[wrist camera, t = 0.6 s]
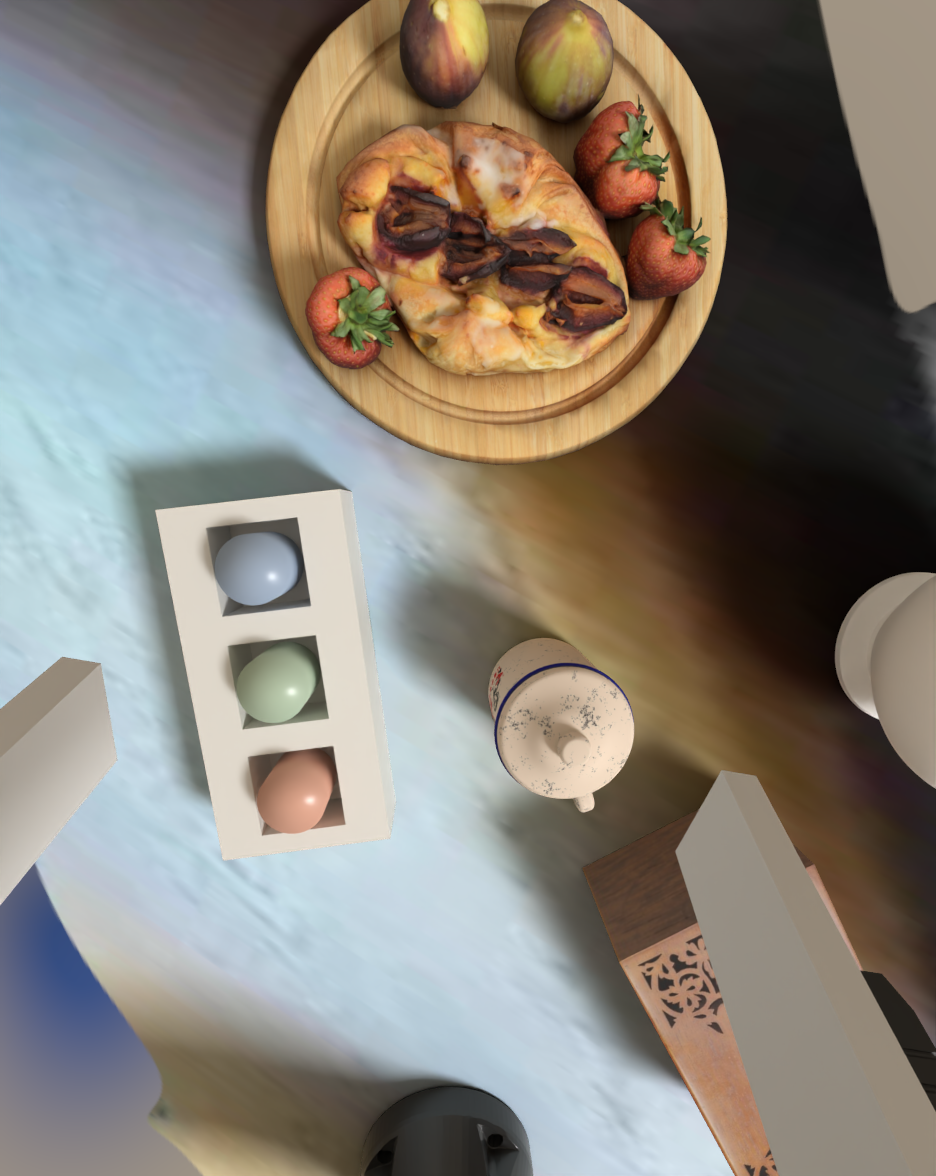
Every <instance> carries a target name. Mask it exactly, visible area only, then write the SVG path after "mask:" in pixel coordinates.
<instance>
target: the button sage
mask: <svg viewBox="0 0 936 1176" xmlns="http://www.w3.org/2000/svg"><path fill="white" fill-rule="evenodd" d="M320 677H321V670H320V664H319V662H318V660H317V658H316V656H315V655H314V653H313V652H312V651H311V650H310V649H308V648H307V647H305V646H304V645H302V644H299V643H296V642H280V643H277V644H274V645H272V646H271V647H269V648H268V649H266V650H265V651H264V652H263V653H261V654H260V655H259V656H257V657H256V658H255V659H254V660H252V661H251V662H250V663H249V664H247V665H246V666H245V667H244V669H243V670H242V671H241V673H240V675H239V677H238V681H237V696H238V699H239V702H240V704H241V706H242V707H243V709H244V710H245V711H246V712H247V713H248V714H249V715H250V716H252V717H253V718H255V719H257V720H259V721H262V722H267V723H280V722H284V721H287V720H289V719H291V718H292V717H294V716H295V715H296V714H298V713H299V711H300V710H301V709H302V708H303V706H304V705H305V703H306V702H307V701H308V699H309V698H310V696H311V695H312V694H313V692H314V691H315V689H316V688H317V686H318V684H319V681H320Z"/></svg>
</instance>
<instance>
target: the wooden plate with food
mask: <svg viewBox="0 0 936 1176" xmlns="http://www.w3.org/2000/svg"><path fill="white" fill-rule="evenodd" d="M265 217H266V229H267V240H268V245H269V251H270V259H271V264H272V268H273V272H274V276H275V281H276V284H277V287H278V291H279V294H280V297H281V300H282V303H283V305H284V308H285V310H286V313H287V315H288V318H289V320H290V322H291V324H292V326H293V328H294V330H295V332H296V333H297V335H298V337H299V339H300V341H301V343H302V344H303V346H304V348H305V349H306V351H307V353H308V354H309V356H310V358H311V359H312V361H313V362H314V363H315V365H316V366H317V367H318V368H319V370H320V371H321V372H322V373H323V375H324V376H325V377H326V379H327V380H328V381H329V382H330V384H331V385H332V386H333V387H334V388H335V389H336V390H337V391H338V392H339V393H340V394H341V395H342V396H343V397H344V398H345V399H346V401H347V402H348V403H349V404H350V405H352V406H353V407H354V408H355V409H356V410H358V411H359V412H360V413H361V414H363V415H364V416H365V417H367V418H368V419H369V420H371V421H372V422H374V423H375V424H376V425H378V426H379V427H381V428H383V429H384V430H386V431H387V432H389V433H391V434H392V435H394V436H395V437H397V438H399V439H401V440H403V441H405V442H407V443H409V444H410V445H413V446H415V447H418V448H420V449H423V450H425V451H428V452H431V453H434V454H437V455H440V456H443V457H447V458H452V459H456V460H461V461H467V462H475V463H484V464H493V465H507V464H523V463H530V462H537V461H544V460H548V459H552V458H556V457H559V456H562V455H565V454H568V453H571V452H574V451H577V450H580V449H582V448H584V447H586V446H588V445H590V444H593V443H595V442H596V441H598V440H600V439H602V438H604V437H605V436H607V435H609V434H611V433H612V432H614V431H615V430H617V429H619V428H620V427H622V426H624V425H625V424H627V423H628V422H630V421H631V420H632V419H633V418H635V417H636V416H637V415H638V414H639V413H641V412H642V411H643V410H644V409H645V408H646V407H647V406H648V405H649V404H650V403H652V402H653V401H654V400H655V399H656V397H657V396H658V395H659V394H660V393H661V392H662V391H663V389H664V388H665V387H666V386H667V385H668V383H669V382H670V381H671V380H672V379H673V377H674V376H675V375H676V374H677V372H678V371H679V369H680V368H681V366H682V365H683V363H684V362H685V360H686V359H687V357H688V356H689V354H690V353H691V351H692V349H693V347H694V346H695V344H696V342H697V341H698V339H699V337H700V335H701V332H702V330H703V328H704V326H705V324H706V321H707V319H708V316H709V313H710V311H711V308H712V305H713V302H714V298H715V295H716V291H717V288H718V285H719V281H720V275H721V270H722V265H723V260H724V253H725V246H726V237H727V201H726V192H725V183H724V176H723V170H722V165H721V160H720V156H719V151H718V147H717V142H716V139H715V135H714V132H713V129H712V126H711V123H710V120H709V118H708V115H707V113H706V111H705V109H704V106H703V104H702V102H701V99H700V97H699V95H698V94H697V92H696V90H695V88H694V86H693V84H692V82H691V80H690V78H689V77H688V75H687V73H686V72H685V70H684V68H683V67H682V65H681V64H680V63H679V61H678V60H677V58H676V57H675V56H674V54H673V53H672V52H671V51H670V49H669V48H668V47H667V46H666V44H665V43H664V42H663V41H662V40H661V38H660V37H659V36H658V35H657V34H656V33H655V32H654V31H653V30H652V29H651V28H650V27H649V26H648V25H647V24H646V23H645V22H644V21H643V20H641V19H640V18H639V17H638V16H637V15H636V14H634V13H633V12H632V11H631V10H630V9H629V8H627V7H626V6H625V5H623V4H622V3H620V2H619V1H617V0H370V1H369V2H367V3H366V4H365V5H363V6H362V7H361V8H359V9H358V10H357V11H356V12H354V13H353V14H352V15H350V16H349V17H348V18H347V19H346V20H345V21H343V22H342V23H341V24H340V25H339V26H338V27H337V28H336V29H335V30H334V31H333V32H332V33H331V34H330V35H329V36H328V37H327V39H326V40H325V41H324V43H323V44H322V45H321V46H320V48H319V49H318V50H317V51H316V53H315V54H314V55H313V57H312V59H311V60H310V62H309V63H308V65H307V67H306V68H305V70H304V72H303V73H302V75H301V76H300V78H299V80H298V81H297V83H296V85H295V87H294V90H293V92H292V94H291V96H290V98H289V101H288V103H287V105H286V107H285V109H284V112H283V114H282V116H281V119H280V122H279V125H278V128H277V131H276V134H275V138H274V143H273V147H272V151H271V157H270V163H269V168H268V177H267V187H266V216H265Z"/></svg>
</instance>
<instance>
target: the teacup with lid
mask: <svg viewBox="0 0 936 1176" xmlns="http://www.w3.org/2000/svg"><path fill="white" fill-rule="evenodd" d="M488 698H489V704H490V708H491V712H492V717H493V721H494V725H495V730H494V736H495V744H496V749H497V752H498V755H499V758H500V760H501V762H502V764H503V766H504V767H505V769H506V770H507V772H508V773H509V774H510V775H511V776H512V777H513V778H514V779H515V780H516V781H517V782H518V783H519V784H521V785H522V786H524V787H525V788H527V789H528V790H530V791H532V792H534V793H536V794H539V795H542V796H545V797H550V798H558V799H569V798H573V800H574V802H575V805H576V807H577V809H578V810H579V811H580V812H587V811H590V810H592V809H593V808H594V798H593V794H592V792H594V791H596V790H598V789H600V788H602V787H603V786H605V785H606V784H607V783H609V782H610V781H611V780H612V779H613V778H614V777H615V776H616V775H617V774H618V773H619V771H620V770H621V769H622V767H623V766H624V764H625V762H626V760H627V758H628V756H629V754H630V751H631V748H632V744H633V739H634V719H633V714H632V710H631V707H630V704H629V702H628V699H627V697H626V696H625V694H624V692H623V691H622V690H621V688H620V687H619V686H618V685H617V684H616V683H615V682H614V681H613V680H612V679H611V678H610V677H609V676H607V675H606V674H604V673H603V672H601V671H599V670H597V669H596V668H595V667H594V665H593V664H592V663H591V662H590V661H589V660H588V659H587V658H586V657H585V656H584V655H583V654H582V653H581V652H580V651H578V650H577V649H576V648H575V647H573V646H571V645H570V644H568V643H565V642H563V641H560V640H557V639H551V638H536V639H531V640H527V641H524V642H522V643H520V644H518V645H516V646H514V647H513V648H511V649H510V650H509V651H507V652H506V653H505V654H504V655H503V656H502V657H501V658H500V660H499V661H498V662H497V664H496V666H495V667H494V669H493V672H492V674H491V677H490V681H489V687H488Z"/></svg>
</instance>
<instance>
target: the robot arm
mask: <svg viewBox="0 0 936 1176" xmlns="http://www.w3.org/2000/svg"><path fill="white" fill-rule="evenodd" d="M116 761H117V755H116V749H115V744H114V738H113V732H112V726H111V721H110V715H109V709H108V703H107V697H106V692H105V686H104V680H103V674H102V669H101V663H95V662H89V661H83V660H77V659H71V658H66V657H62V658H60V659H59V660H58V661H57V662H56V663H54V664H53V665H52V666H51V667H50V668H49V669H47V670H46V671H45V672H44V673H43V674H41V675H40V676H39V677H38V678H37V679H35V680H34V681H33V682H32V683H31V684H30V685H28V686H27V687H26V688H25V689H24V690H22V691H21V692H20V693H19V694H18V695H16V696H15V697H14V698H13V699H12V700H11V701H9V702H8V703H7V704H6V705H5V706H3V707H2V708H1V709H0V905H1V904H2V902H3V901H4V900H5V898H6V897H7V896H8V895H9V894H10V892H11V891H12V890H13V889H14V888H15V886H16V885H17V884H18V883H19V881H20V880H21V879H22V878H23V876H24V875H25V874H26V873H27V871H28V870H29V869H30V868H31V866H32V865H33V864H34V863H35V862H36V860H37V859H38V858H39V857H40V855H41V854H42V853H43V852H44V850H45V849H46V848H47V847H48V845H49V844H50V843H51V842H52V840H53V839H54V838H55V837H56V835H57V834H58V833H59V832H60V831H61V829H62V828H63V827H64V826H65V824H66V823H67V822H68V821H69V819H70V818H71V817H72V816H73V814H74V813H75V812H76V811H77V809H78V808H79V807H80V806H81V805H82V803H83V802H84V801H85V800H86V798H87V797H88V796H89V795H90V793H91V792H92V791H93V790H94V788H95V787H96V786H97V785H98V783H99V782H100V781H101V780H102V779H103V777H104V776H105V775H106V774H107V772H108V771H109V770H110V769H111V767H112V766H113V765H114V764H115V762H116ZM675 852H676V855H677V858H678V862H679V865H680V868H681V871H682V874H683V877H684V880H685V883H686V887H687V890H688V893H689V896H690V899H691V902H692V905H693V909H694V912H695V915H696V918H697V921H698V924H699V927H700V930H701V934H702V937H703V940H704V943H705V946H706V949H707V952H708V955H709V959H710V962H711V965H712V968H713V971H714V974H715V977H716V981H717V984H718V987H719V990H720V993H721V996H722V999H723V1002H724V1006H725V1009H726V1012H727V1015H728V1018H729V1021H730V1024H731V1028H732V1031H733V1034H734V1037H735V1040H736V1043H737V1046H738V1049H739V1053H740V1056H741V1059H742V1062H743V1065H744V1068H745V1071H746V1074H747V1078H748V1081H749V1084H750V1087H751V1090H752V1093H753V1096H754V1100H755V1103H756V1106H757V1109H758V1112H759V1115H760V1118H761V1121H762V1125H763V1128H764V1131H765V1134H766V1137H767V1140H768V1143H769V1146H770V1150H771V1153H772V1156H773V1159H774V1162H775V1165H776V1168H777V1172H778V1175H779V1176H936V1048H935V1046H934V1045H933V1043H932V1041H931V1040H930V1038H929V1036H928V1034H927V1033H926V1031H925V1029H924V1027H923V1026H922V1024H921V1022H920V1021H919V1019H918V1017H917V1015H916V1014H915V1012H914V1011H913V1009H912V1008H911V1007H910V1006H909V1005H908V1004H907V1002H906V1001H905V1000H904V999H903V998H902V997H901V995H900V994H899V993H898V992H897V991H896V990H895V989H894V987H893V986H892V985H891V984H890V983H889V982H888V980H887V979H886V978H885V977H884V976H883V975H882V974H880V973H873V972H867V971H860V969H859V968H858V966H857V964H856V962H855V960H854V958H853V956H852V955H851V953H850V951H849V949H848V947H847V945H846V943H845V941H844V940H843V938H842V936H841V934H840V932H839V930H838V928H837V927H836V925H835V923H834V921H833V919H832V917H831V915H830V913H829V912H828V910H827V908H826V906H825V904H824V902H823V900H822V898H821V897H820V895H819V893H818V891H817V889H816V887H815V885H814V884H813V882H812V880H811V878H810V876H809V874H808V872H807V870H806V869H805V867H804V865H803V863H802V861H801V859H800V857H799V856H798V854H797V852H796V850H795V848H794V846H793V844H792V842H791V841H790V839H789V837H788V835H787V833H786V831H785V829H784V827H783V826H782V824H781V822H780V820H779V818H778V816H777V814H776V813H775V811H774V809H773V807H772V805H771V803H770V801H769V799H768V798H767V796H766V794H765V792H764V790H763V788H762V786H761V785H760V783H759V781H758V779H757V777H756V776H753V775H747V774H741V773H735V772H729V771H724V770H722V771H721V772H720V774H719V776H718V778H717V779H716V781H715V783H714V785H713V786H712V788H711V790H710V792H709V793H708V795H707V797H706V799H705V800H704V802H703V804H702V806H701V807H700V809H699V811H698V813H697V814H696V816H695V818H694V820H693V821H692V823H691V825H690V827H689V828H688V830H687V832H686V834H685V835H684V837H683V839H682V841H681V842H680V844H679V846H678V848H677V849H676V851H675ZM360 1176H533V1168H532V1160H531V1153H530V1146H529V1141H528V1137H527V1134H526V1131H525V1129H524V1127H523V1125H522V1123H521V1122H520V1120H519V1119H518V1117H517V1116H516V1115H515V1114H514V1113H513V1112H512V1111H511V1110H510V1109H509V1108H508V1107H507V1106H506V1105H505V1104H503V1103H502V1102H500V1101H499V1100H497V1099H496V1098H494V1097H492V1096H490V1095H488V1094H485V1093H483V1092H480V1091H476V1090H472V1089H468V1088H460V1087H441V1088H434V1089H429V1090H425V1091H421V1092H418V1093H415V1094H413V1095H410V1096H408V1097H406V1098H404V1099H402V1100H401V1101H399V1102H397V1103H396V1104H394V1105H393V1106H392V1107H390V1108H389V1109H388V1110H387V1111H386V1112H385V1113H384V1114H383V1115H382V1116H381V1117H380V1118H379V1119H378V1120H377V1122H376V1123H375V1124H374V1126H373V1127H372V1129H371V1130H370V1132H369V1134H368V1136H367V1139H366V1141H365V1144H364V1148H363V1154H362V1161H361V1169H360Z"/></svg>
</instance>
